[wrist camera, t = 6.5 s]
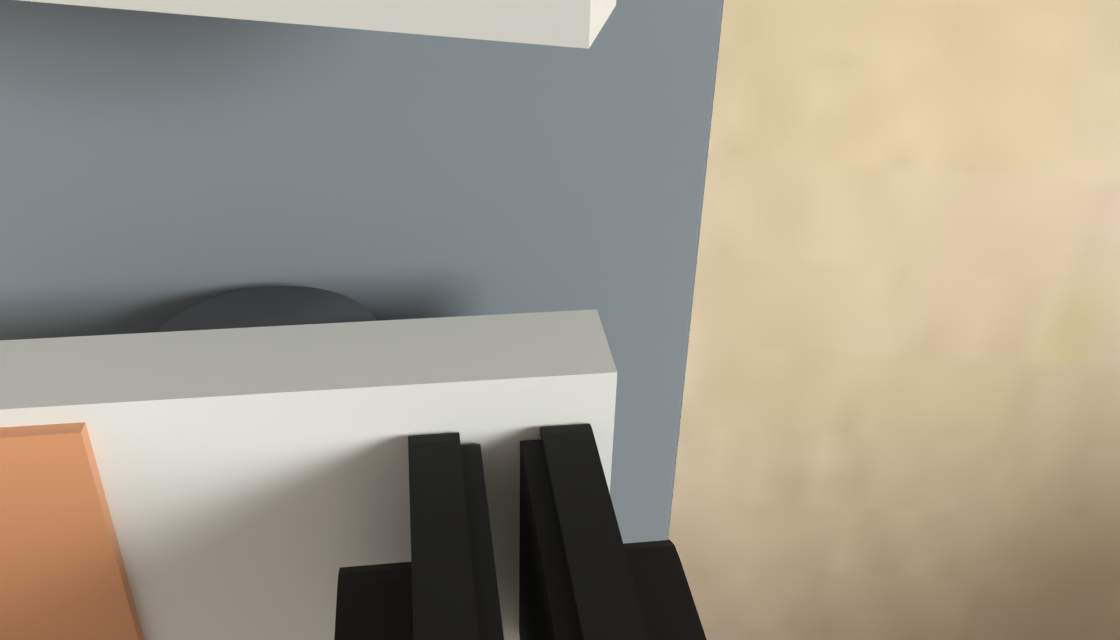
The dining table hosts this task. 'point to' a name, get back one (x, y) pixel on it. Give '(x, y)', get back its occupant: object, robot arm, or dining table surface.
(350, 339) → the switch
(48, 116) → the console
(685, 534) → the dining table surface
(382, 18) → the switch
